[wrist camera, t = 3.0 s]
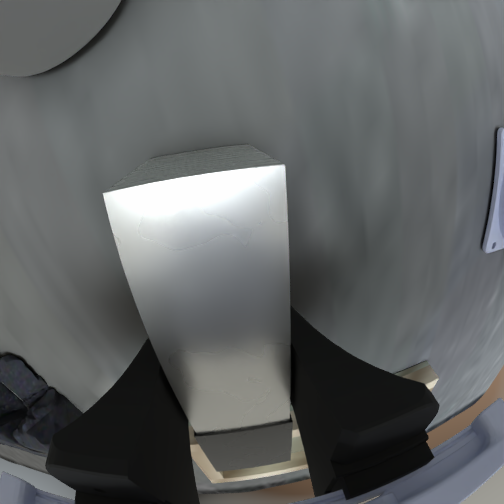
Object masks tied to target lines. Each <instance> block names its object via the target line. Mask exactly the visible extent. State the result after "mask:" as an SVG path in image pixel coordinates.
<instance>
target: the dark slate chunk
mask: <svg viewBox="0 0 504 504" xmlns="http://www.w3.org/2000/svg"><path fill="white" fill-rule="evenodd" d="M2 382H3V383H4V384H3V383H2ZM8 388H9V389H10V390H12V391H13V392H14V393H16V394H17V395H18V396H19V397H20V398H21V399H22V400H23V401H22V400H20V399H19V398H18V397H17V396H16V395H15V394H14V393H13V392H11V391H10V390H9V389H8ZM44 388H45V389H44ZM26 406H27V407H26ZM82 414H83V413H82V412H81V411H79V410H78V409H77V408H76V407H75V406H74V405H73V404H72V403H71V402H70V401H69V400H68V399H67V398H66V397H64V396H63V395H61V394H58V393H57V392H56V391H55V390H54V388H53V389H52V388H49V387H48V385H47V383H46V382H44V381H43V380H42V379H41V377H40V376H39V375H33V373H32V372H31V371H30V370H29V369H28V368H27V367H26V366H25V364H24V363H23V362H22V361H21V360H20V359H19V358H17V357H15V356H12V355H6V356H4V357H2V358H1V359H0V444H3V445H8V446H11V447H15V448H18V449H21V450H24V451H27V452H30V453H33V454H36V455H39V456H43V457H47V456H48V451H49V447H50V443H51V439H52V436H53V435H54V434H55V433H57V432H58V431H60V430H61V429H63V428H64V427H66V426H67V425H69V424H70V423H72V422H73V421H75V420H76V419H77V418H79V417H80V416H81V415H82Z"/></svg>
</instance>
